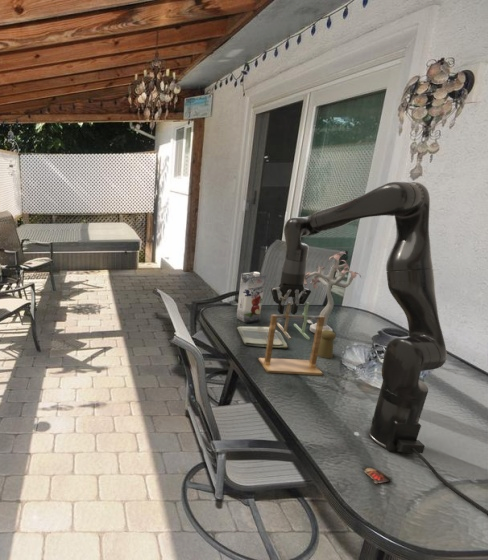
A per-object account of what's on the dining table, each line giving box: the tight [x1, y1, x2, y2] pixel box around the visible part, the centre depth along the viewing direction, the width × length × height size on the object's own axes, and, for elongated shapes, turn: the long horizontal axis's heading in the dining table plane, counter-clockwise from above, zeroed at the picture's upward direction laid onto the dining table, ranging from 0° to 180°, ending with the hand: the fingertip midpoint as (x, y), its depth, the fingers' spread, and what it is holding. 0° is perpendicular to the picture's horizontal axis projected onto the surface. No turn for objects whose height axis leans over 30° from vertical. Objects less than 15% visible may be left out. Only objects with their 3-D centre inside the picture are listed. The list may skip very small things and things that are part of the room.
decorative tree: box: [303, 251, 362, 334], centre depth 168 cm, size 28×24×40 cm
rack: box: [258, 313, 325, 376], centre depth 139 cm, size 10×20×23 cm, turn 82°
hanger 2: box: [293, 301, 311, 341], centre depth 135 cm, size 12×1×13 cm, turn 172°
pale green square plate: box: [236, 326, 289, 350], centre depth 166 cm, size 19×18×3 cm
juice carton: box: [236, 271, 267, 324], centre depth 184 cm, size 9×10×27 cm
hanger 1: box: [276, 301, 292, 340], centre depth 136 cm, size 12×1×13 cm, turn 172°
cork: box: [317, 330, 337, 359], centre depth 149 cm, size 6×6×11 cm
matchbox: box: [363, 467, 392, 485], centre depth 91 cm, size 5×5×1 cm
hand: (287, 313), depth 136 cm, fingers open, 3 cm apart
